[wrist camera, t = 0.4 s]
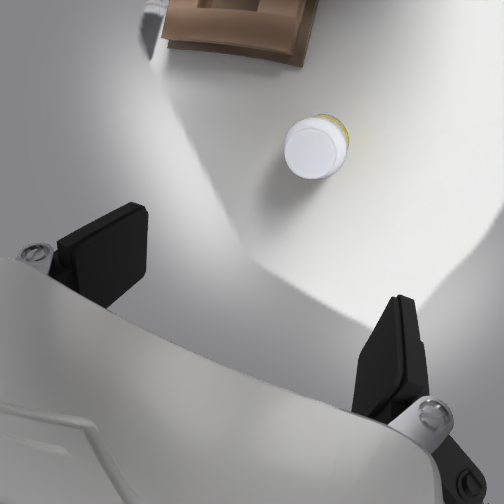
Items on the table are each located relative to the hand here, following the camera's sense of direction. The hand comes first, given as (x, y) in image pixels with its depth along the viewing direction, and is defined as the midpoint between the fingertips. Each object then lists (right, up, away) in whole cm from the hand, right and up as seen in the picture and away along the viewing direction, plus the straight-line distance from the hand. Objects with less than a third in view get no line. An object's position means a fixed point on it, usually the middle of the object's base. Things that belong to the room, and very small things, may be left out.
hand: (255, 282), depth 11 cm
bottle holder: (-1, +29, +15) cm, 33 cm away
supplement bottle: (+7, +13, +20) cm, 25 cm away
